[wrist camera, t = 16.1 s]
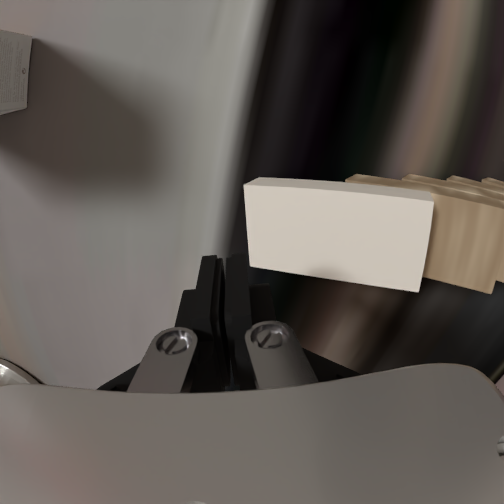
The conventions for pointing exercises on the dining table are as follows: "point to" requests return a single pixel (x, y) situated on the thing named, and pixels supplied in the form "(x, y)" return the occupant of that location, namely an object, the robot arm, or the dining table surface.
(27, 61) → the small box
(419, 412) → the robot arm
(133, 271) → the dining table surface
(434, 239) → the domino
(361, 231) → the domino
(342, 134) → the dining table surface
